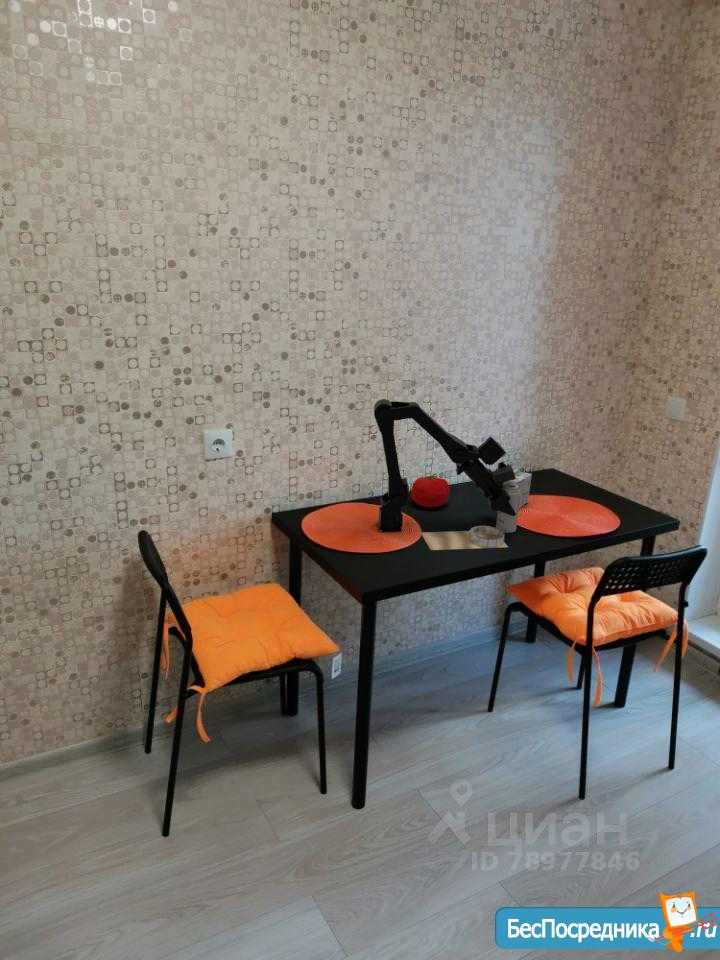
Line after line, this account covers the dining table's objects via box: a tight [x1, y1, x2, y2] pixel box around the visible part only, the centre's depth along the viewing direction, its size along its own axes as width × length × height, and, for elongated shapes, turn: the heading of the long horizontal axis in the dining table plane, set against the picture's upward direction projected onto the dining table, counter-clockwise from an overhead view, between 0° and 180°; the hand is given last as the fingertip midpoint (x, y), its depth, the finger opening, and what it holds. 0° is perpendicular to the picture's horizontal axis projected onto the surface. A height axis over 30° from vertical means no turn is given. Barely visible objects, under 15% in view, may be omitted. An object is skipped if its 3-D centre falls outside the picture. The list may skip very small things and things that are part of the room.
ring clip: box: [469, 525, 505, 549], centre depth 214 cm, size 10×10×2 cm
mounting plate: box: [420, 530, 509, 551], centre depth 215 cm, size 23×12×1 cm, turn 100°
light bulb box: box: [503, 469, 533, 508], centre depth 243 cm, size 11×7×11 cm, turn 141°
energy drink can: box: [495, 483, 521, 534], centre depth 221 cm, size 6×6×15 cm
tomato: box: [410, 474, 451, 508], centre depth 241 cm, size 11×13×10 cm
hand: (512, 510), depth 222 cm, fingers open, 7 cm apart
